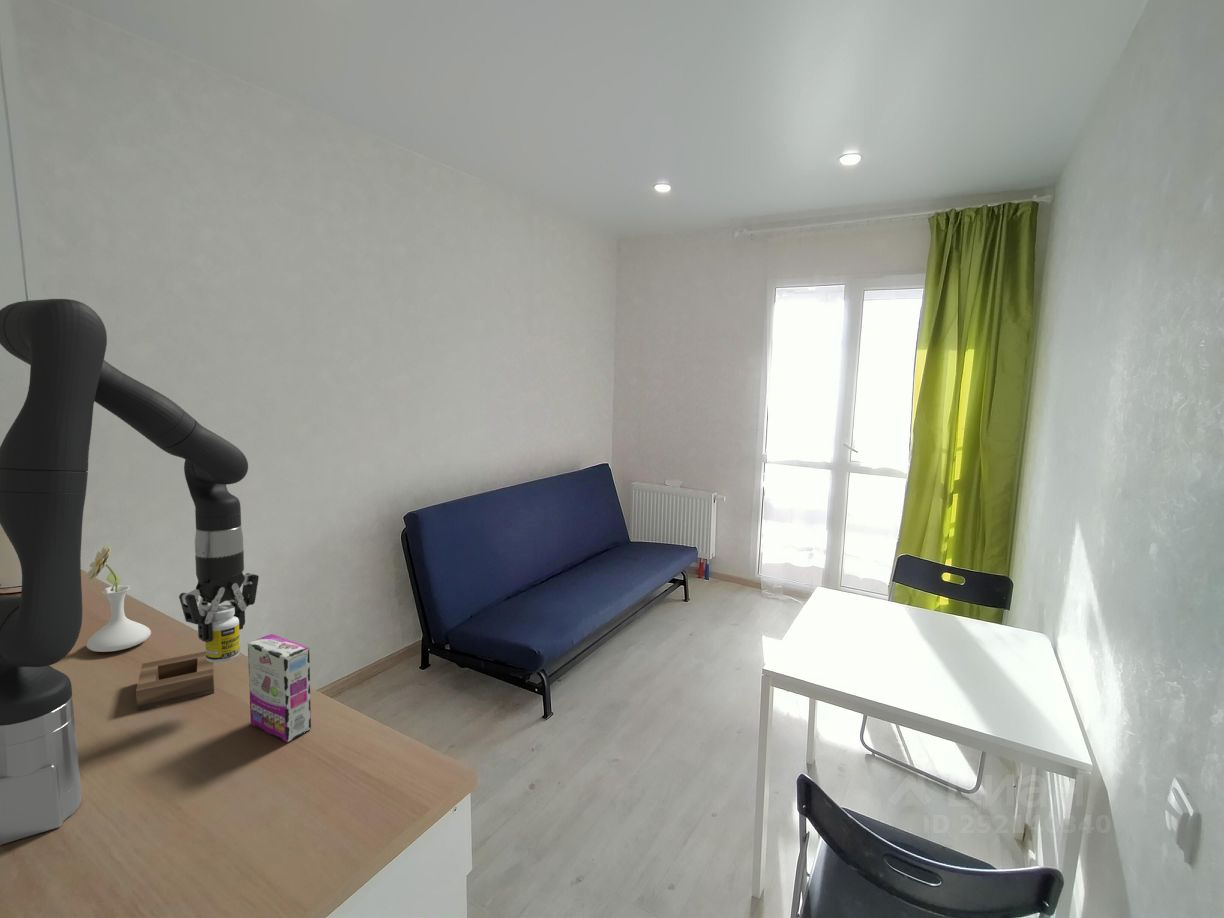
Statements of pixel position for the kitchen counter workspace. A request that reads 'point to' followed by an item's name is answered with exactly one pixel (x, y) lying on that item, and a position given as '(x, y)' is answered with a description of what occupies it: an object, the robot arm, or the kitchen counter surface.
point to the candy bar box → (279, 686)
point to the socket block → (174, 680)
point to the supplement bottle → (223, 635)
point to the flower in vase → (114, 613)
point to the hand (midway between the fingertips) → (222, 634)
